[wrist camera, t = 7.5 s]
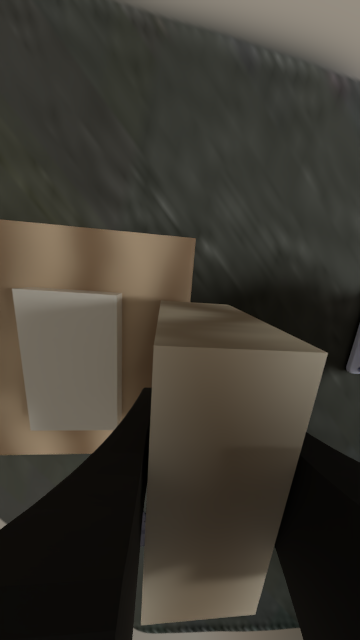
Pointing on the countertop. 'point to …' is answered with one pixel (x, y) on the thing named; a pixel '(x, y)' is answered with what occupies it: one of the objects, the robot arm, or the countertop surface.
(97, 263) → the cork mat
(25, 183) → the countertop surface
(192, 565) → the tan mottled block
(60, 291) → the tile
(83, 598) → the robot arm
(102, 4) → the countertop surface
